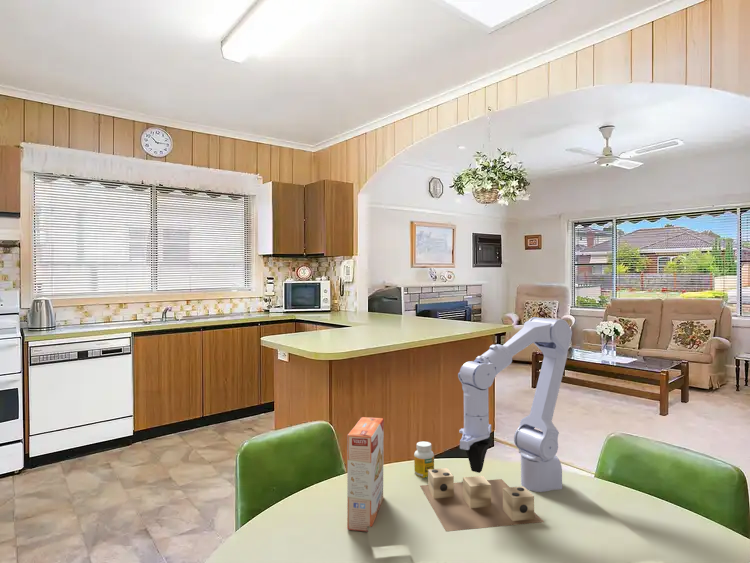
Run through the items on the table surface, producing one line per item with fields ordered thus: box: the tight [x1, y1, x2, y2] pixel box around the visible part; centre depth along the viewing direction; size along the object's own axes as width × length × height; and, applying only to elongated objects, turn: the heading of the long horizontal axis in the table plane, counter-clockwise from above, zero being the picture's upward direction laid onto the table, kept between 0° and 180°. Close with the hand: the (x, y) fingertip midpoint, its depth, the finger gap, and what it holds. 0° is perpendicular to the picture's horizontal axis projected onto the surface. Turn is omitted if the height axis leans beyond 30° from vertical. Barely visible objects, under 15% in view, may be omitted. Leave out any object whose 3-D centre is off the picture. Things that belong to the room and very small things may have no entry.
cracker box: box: [346, 416, 385, 533], centre depth 108 cm, size 14×6×21 cm, turn 168°
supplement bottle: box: [413, 441, 435, 479], centre depth 127 cm, size 5×5×10 cm
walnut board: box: [419, 478, 545, 532], centre depth 111 cm, size 22×22×2 cm
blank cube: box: [462, 475, 491, 508], centre depth 111 cm, size 5×5×5 cm
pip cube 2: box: [503, 485, 535, 521], centre depth 105 cm, size 5×5×5 cm
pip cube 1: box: [427, 467, 455, 499], centre depth 116 cm, size 5×5×5 cm
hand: (476, 470), depth 111 cm, fingers closed
